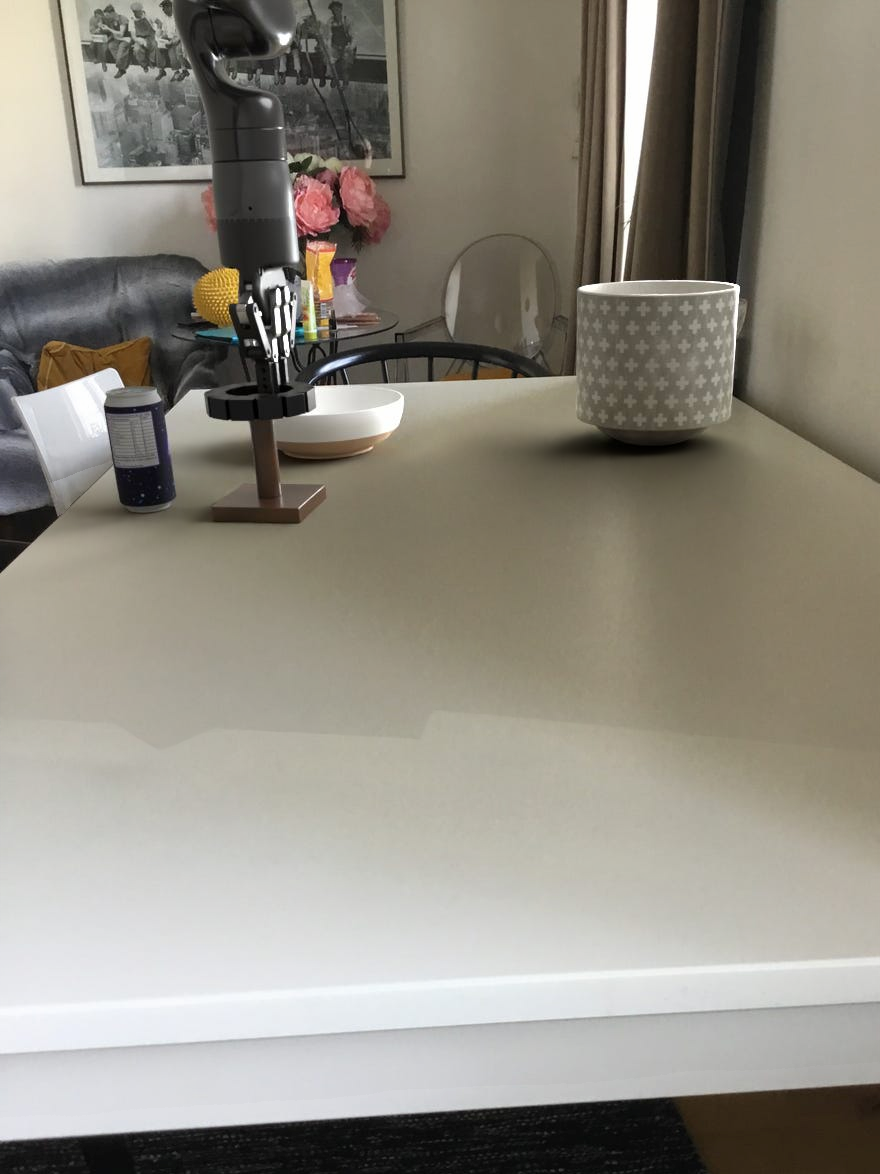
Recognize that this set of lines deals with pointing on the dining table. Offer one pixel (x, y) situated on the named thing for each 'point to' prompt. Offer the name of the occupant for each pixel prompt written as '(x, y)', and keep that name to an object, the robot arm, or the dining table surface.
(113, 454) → the beverage can
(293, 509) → the stand
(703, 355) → the planter
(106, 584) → the dining table surface
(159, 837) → the dining table surface
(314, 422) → the bowl
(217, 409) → the ring
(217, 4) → the robot arm
